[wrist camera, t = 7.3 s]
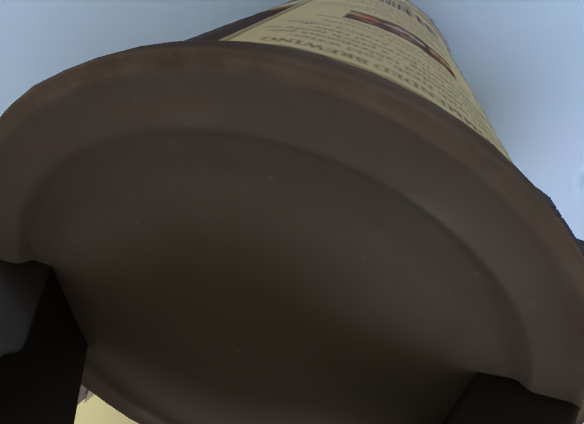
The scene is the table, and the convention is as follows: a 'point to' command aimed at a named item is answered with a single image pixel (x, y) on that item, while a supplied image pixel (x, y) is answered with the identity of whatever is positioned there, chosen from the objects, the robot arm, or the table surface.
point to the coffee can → (291, 225)
